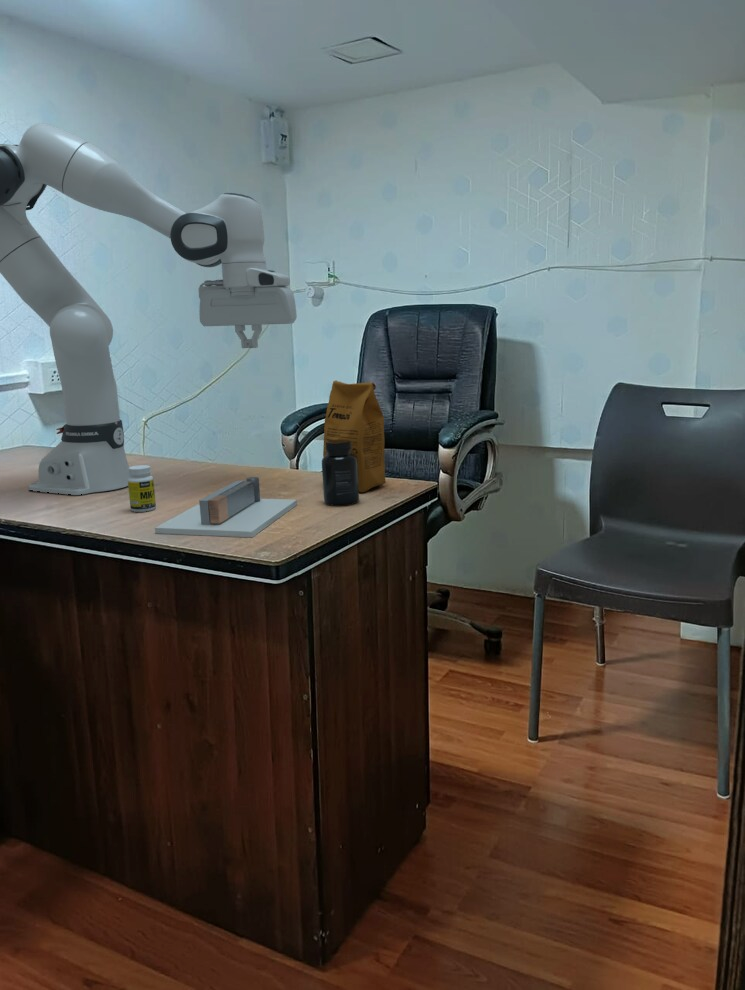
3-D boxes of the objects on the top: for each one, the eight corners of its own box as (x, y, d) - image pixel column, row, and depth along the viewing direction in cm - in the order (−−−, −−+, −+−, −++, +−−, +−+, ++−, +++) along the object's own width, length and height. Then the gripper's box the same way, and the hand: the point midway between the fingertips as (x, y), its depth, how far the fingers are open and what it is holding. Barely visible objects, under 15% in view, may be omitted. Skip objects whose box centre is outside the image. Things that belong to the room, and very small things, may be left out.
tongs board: (155, 533, 138) (152, 502, 137) (211, 502, 159) (209, 475, 158) (252, 537, 134) (249, 505, 132) (297, 504, 154) (295, 476, 153)
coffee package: (350, 479, 175) (345, 377, 170) (392, 486, 167) (389, 380, 162) (317, 487, 168) (311, 382, 163) (359, 495, 160) (355, 385, 155)
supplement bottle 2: (363, 498, 157) (361, 438, 154) (351, 507, 151) (349, 444, 148) (331, 497, 159) (328, 437, 157) (318, 505, 153) (314, 443, 150)
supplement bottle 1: (142, 513, 152) (138, 470, 150) (125, 511, 154) (120, 468, 152) (161, 507, 156) (157, 465, 154) (144, 505, 158) (140, 463, 156)
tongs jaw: (210, 523, 139) (208, 500, 138) (246, 501, 153) (245, 480, 152) (219, 523, 138) (217, 500, 137) (255, 501, 153) (253, 480, 152)
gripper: (190, 280, 162) (196, 350, 165) (286, 276, 156) (290, 347, 160) (204, 281, 167) (210, 348, 171) (297, 276, 162) (301, 345, 166)
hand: (249, 348), depth 165 cm, fingers closed
